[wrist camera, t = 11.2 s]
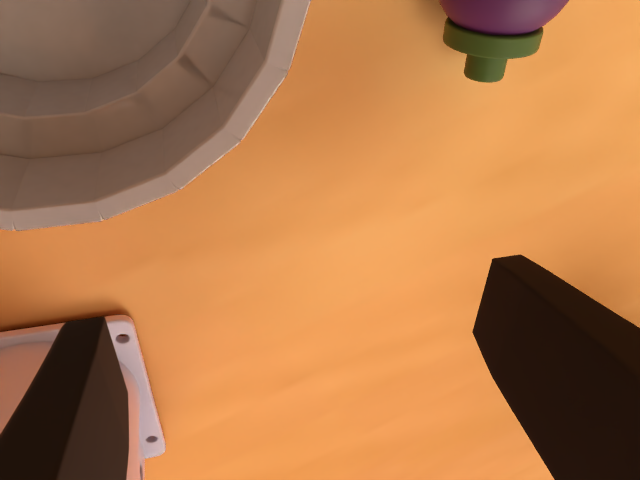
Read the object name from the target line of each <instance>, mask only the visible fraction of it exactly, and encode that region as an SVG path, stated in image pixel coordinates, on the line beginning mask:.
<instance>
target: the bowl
mask: <svg viewBox="0 0 640 480" xmlns="http://www.w3.org/2000/svg"><path fill="white" fill-rule="evenodd" d="M310 2H311V0H0V229H2V230H11V231H12V230H16V231H22V230H30V229H39V228H48V227H57V226H65V225H74V224H83V223H91V222H100V221H102V220H103V219H104V220H107V219H109V218H112V217H114V216H117V215H119V214H122V213H124V212H127V211H130V210H132V209H135V208H137V207H140V206H142V205H145V204H147V203H150V202H152V201H155V200H157V199H160V198H162V197H165V196H168V195H170V194H173V193H175V192H177V191H178V189H179V190H181V189H182V188H184V187H185V186H186V185H187V184H189V183H190V182H191V181H192V180H194V179H195V178H196V177H197V176H199V175H200V174H201V173H203V172H204V171H205V170H206V169H208V168H209V167H210V166H211V165H213V164H214V163H215V162H217V161H218V160H219V159H220V158H222V157H223V156H224V155H225V154H227V153H228V152H229V151H231V150H232V149H233V148H234V147H236V146H237V145H238V144H239V143H240V142H241V140H243V139H244V138H245V136H246V135H247V133H248V132H249V130H250V129H251V127H252V126H253V124H254V123H255V121H256V120H257V118H258V117H259V115H260V114H261V113H262V111H263V110H264V108H265V107H266V105H267V104H268V102H269V101H270V99H271V98H272V96H273V95H274V93H275V92H276V90H277V89H278V88H279V86H280V85H281V83H282V82H283V80H284V79H285V77H286V76H287V74H288V70H289V69H290V68H291V65H292V61H293V58H294V55H295V51H296V48H297V45H298V42H299V38H300V35H301V32H302V28H303V25H304V22H305V19H306V15H307V12H308V9H309V5H310Z"/></svg>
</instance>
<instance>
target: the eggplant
mask: <svg viewBox="0 0 640 480" xmlns="http://www.w3.org/2000/svg"><path fill="white" fill-rule="evenodd" d="M568 1H569V0H439V3H440V5H441V7H442V8H443V10H444V11H445V13H446V15H447V16H448V18H447V19H446V21H445V27H444V34H443V40H444V43H445V44H446V45H447V46H449V47H450V48H452V49H454V50H457V51H459V52H462V53H465V54H467V58H466V63H465V69H464V74H465V76H466V77H467V78H469V79H471V80H474V81H478V82H497V81H500V80H501V79H502V78H503V76H504V72H505V67H506V63H507V59H513V58H521V57H526V56H530V55H532V54H534V53H536V52H537V50H538V49H539V46H540V42H541V38H542V34H543V28H542V26H544V25H545V24H546V23H548V22H549V21H550V20H551V19H552V18H554V17H555V16H556V15H557V14H558V13H559V12H560V11H561V9H562V8H563V7H564V6H565V5H566V4H567V2H568Z"/></svg>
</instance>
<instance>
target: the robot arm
mask: <svg viewBox="0 0 640 480" xmlns="http://www.w3.org/2000/svg"><path fill="white" fill-rule="evenodd" d="M120 334H126V336H119V335H120ZM473 334H474V337H475V339H476V341H477V344H478V346H479V348H480V351H481V353H482V356H483V358H484V360H485V362H486V364H487V366H488V369H489V371H490V373H491V375H492V377H493V379H494V381H495V382H496V384H497V386H498V388H499V389H500V391H501V393H502V394H503V396H504V398H505V399H506V401H507V403H508V404H509V406H510V408H511V409H512V411H513V413H514V414H515V416H516V417H517V419H518V421H519V422H520V424H521V426H522V427H523V429H524V430H525V432H526V434H527V435H528V437H529V439H530V440H531V442H532V443H533V445H534V447H535V448H536V450H537V452H538V453H539V455H540V456H541V458H542V460H543V461H544V463H545V465H546V466H547V468H548V469H549V471H550V473H551V474H552V476H553V478H554V479H555V480H640V328H639V327H637V326H636V325H634V324H632V323H631V322H629V321H627V320H626V319H624V318H622V317H621V316H619V315H618V314H616V313H614V312H613V311H611V310H609V309H608V308H606V307H605V306H603V305H601V304H600V303H598V302H597V301H595V300H594V299H592V298H590V297H589V296H587V295H586V294H584V293H582V292H581V291H579V290H578V289H576V288H575V287H573V286H571V285H570V284H568V283H567V282H565V281H564V280H562V279H560V278H559V277H557V276H556V275H554V274H553V273H551V272H549V271H548V270H546V269H545V268H543V267H541V266H540V265H538V264H536V263H535V262H533V261H531V260H529V259H528V258H526V257H524V256H522V255H514V256H507V257H501V258H494V259H492V263H491V266H490V270H489V273H488V277H487V281H486V284H485V288H484V292H483V295H482V299H481V303H480V306H479V310H478V314H477V317H476V321H475V325H474V328H473ZM165 450H166V443H165V439H164V435H163V431H162V427H161V424H160V420H159V416H158V412H157V409H156V405H155V401H154V397H153V394H152V390H151V386H150V382H149V378H148V375H147V371H146V367H145V363H144V360H143V356H142V352H141V348H140V345H139V341H138V337H137V333H136V330H135V326H134V322H133V320H132V318H130V317H129V316H126V315H113V316H106V317H105V316H103V317H96V318H89V319H82V320H76V321H69V322H66V323H59V324H52V325H45V326H39V327H32V328H25V329H18V330H12V331H5V332H0V480H145V459H146V458H151V457H156V456H159V455H161V454H163V453H164V452H165Z"/></svg>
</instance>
